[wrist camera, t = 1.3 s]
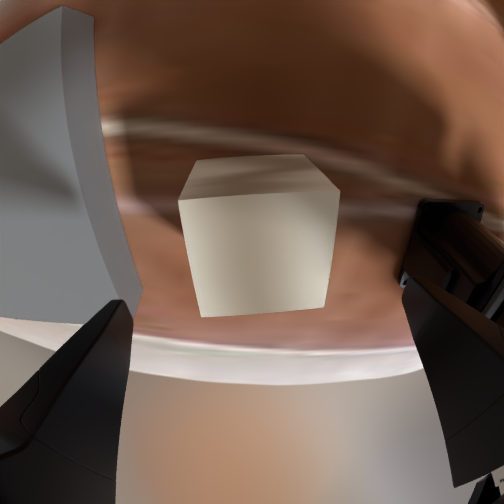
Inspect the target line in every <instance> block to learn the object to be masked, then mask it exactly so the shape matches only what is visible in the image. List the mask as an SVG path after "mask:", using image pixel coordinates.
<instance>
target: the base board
mask: <svg viewBox="0 0 504 504" xmlns="http://www.w3.org/2000/svg"><path fill="white" fill-rule="evenodd" d="M142 292H143V288H142V285H141V282H140V279H139V277H138V274H137V271H136V268H135V265H134V262H133V258H132V255H131V252H130V249H129V246H128V242H127V239H126V236H125V232H124V229H123V225H122V221H121V218H120V214H119V210H118V206H117V202H116V198H115V194H114V190H113V185H112V181H111V176H110V172H109V167H108V162H107V157H106V151H105V146H104V140H103V134H102V127H101V121H100V113H99V105H98V96H97V86H96V74H95V58H94V17H93V16H90V15H88V14H85V13H83V12H80V11H77V10H74V9H71V8H68V7H65V6H60V7H59V8H57V9H55V10H53V11H51V12H49V13H47V14H45V15H44V16H42V17H40V18H39V19H37V20H35V21H33V22H32V23H30V24H29V25H27V26H25V27H24V28H22V29H21V30H19V31H18V32H16V33H15V34H13V35H12V36H11V37H9V38H8V39H6V40H5V41H4V42H2V43H1V44H0V317H5V318H13V319H22V320H32V321H43V322H56V323H72V324H85V323H86V322H88V321H89V320H90V319H91V318H92V317H93V316H94V315H95V314H96V313H97V312H98V311H99V310H101V309H102V308H103V307H104V306H105V305H106V304H107V303H108V302H109V301H111V300H113V299H122V300H124V301H125V302H126V304H127V306H128V309H129V311H130V313H131V315H132V318H133V319H134V316H135V313H136V310H137V306H138V303H139V300H140V297H141V294H142Z"/></svg>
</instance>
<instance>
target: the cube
mask: <svg viewBox="0 0 504 504" xmlns="http://www.w3.org/2000/svg"><path fill="white" fill-rule="evenodd" d="M339 200H340V190H339V189H338V188H337V187H336V186H335V185H334V184H333V183H332V182H331V181H330V180H329V179H328V178H327V177H326V176H325V175H324V174H323V173H322V172H321V171H320V170H319V169H318V168H317V167H316V166H315V165H314V164H313V163H312V162H311V161H310V160H309V159H308V158H307V157H306V156H305V155H304V154H286V155H257V156H240V157H225V158H213V159H203V160H196V162H195V164H194V167H193V169H192V171H191V173H190V175H189V177H188V179H187V181H186V184H185V186H184V188H183V190H182V192H181V195H180V197H179V199H178V205H179V211H180V216H181V222H182V228H183V233H184V238H185V244H186V249H187V254H188V259H189V264H190V269H191V273H192V278H193V283H194V287H195V292H196V296H197V300H198V305H199V309H200V313H201V317H215V316H232V315H247V314H260V313H272V312H283V311H293V310H303V309H312V308H321V307H324V304H325V299H326V293H327V287H328V281H329V275H330V269H331V263H332V256H333V249H334V242H335V234H336V226H337V218H338V209H339Z"/></svg>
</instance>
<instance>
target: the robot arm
mask: <svg viewBox="0 0 504 504" xmlns="http://www.w3.org/2000/svg"><path fill="white" fill-rule="evenodd" d="M426 206H427V208H426V209H425V207H426ZM483 211H484V205H483V204H482V203H480V202H479V201H466V200H446V199H423V200H422V201H421V202H420V203H419V205H418V209H417V214H416V218H415V222H414V226H413V230H412V234H411V237H410V241H409V245H408V248H407V252H406V255H405V258H404V262H403V265H402V268H401V271H400V274H399V277H398V281H397V282H398V284H399V285H400V287H401V288H405V289H404V291H403V294H402V304H403V307H404V310H405V313H406V316H407V320H408V323H409V326H410V330H411V333H412V336H413V340H414V343H415V345H416V348H417V351H418V353H419V356H420V359H421V361H422V364H423V367H424V370H425V373H426V375H427V379H428V382H429V385H430V388H431V391H432V394H433V398H434V401H435V404H436V408H437V411H438V414H439V419H440V422H441V426H442V430H443V434H444V438H445V444H446V448H447V453H448V458H449V463H450V469H451V474H452V481H453V486H454V488H456V487H458V486H461V485H464V484H466V483H468V482H471V481H473V480H475V479H477V478H480V477H482V476H484V475H486V474H488V473H490V474H488V475H487V476H486V477H485V478H483V479H482V480H480V481H479V482H477V483H476V486H475V488H474V491H473V493H472V496H471V498H470V500H469V502H468V504H504V243H503V242H502V241H501V240H500V239H499V238H497V237H496V236H495V235H494V234H493V233H492V232H491V231H489V230H488V229H487V228H486V227H485V226H484V225H482V224H481V223H480V221H481V218H482V214H483ZM132 334H133V318H132V315H131V313H130V311H129V309H128V306H127V304H126V302H125V301H124V300H122V299H113V300H111V301H109V302H108V303H107V304H106V305H105V306H104V307H103V308H102V309H101V310H99V311H98V312H97V313H96V314H95V315H94V316H93V317H92V318H91V319H90V320H89V321H88V322H86V323H85V324H84V325H83V326H82V327H81V328H80V329H79V330H78V331H77V332H76V333H75V334H74V335H73V336H72V337H71V338H70V339H69V340H68V341H67V342H66V343H64V344H63V345H62V346H61V347H60V348H59V349H58V350H57V351H56V352H55V354H53V355H52V356H51V357H50V358H49V360H47V361H46V362H45V363H44V365H42V366H41V367H40V369H39V370H38V371H37V372H36V373H35V374H34V375H33V376H32V377H31V378H30V379H29V380H28V381H27V382H26V383H25V384H24V385H23V386H22V387H21V388H20V389H19V390H18V391H17V392H16V393H15V394H14V395H13V396H12V397H10V398H9V399H8V400H7V401H6V402H5V403H4V404H3V405H2V406H1V407H0V504H115V496H116V481H115V480H116V470H117V455H118V445H119V435H120V426H121V418H122V410H123V404H124V397H125V391H126V385H127V378H128V373H129V367H130V356H131V344H132Z"/></svg>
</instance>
